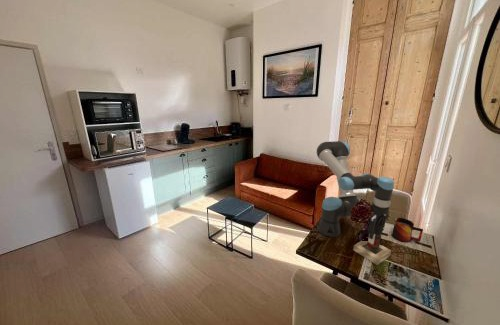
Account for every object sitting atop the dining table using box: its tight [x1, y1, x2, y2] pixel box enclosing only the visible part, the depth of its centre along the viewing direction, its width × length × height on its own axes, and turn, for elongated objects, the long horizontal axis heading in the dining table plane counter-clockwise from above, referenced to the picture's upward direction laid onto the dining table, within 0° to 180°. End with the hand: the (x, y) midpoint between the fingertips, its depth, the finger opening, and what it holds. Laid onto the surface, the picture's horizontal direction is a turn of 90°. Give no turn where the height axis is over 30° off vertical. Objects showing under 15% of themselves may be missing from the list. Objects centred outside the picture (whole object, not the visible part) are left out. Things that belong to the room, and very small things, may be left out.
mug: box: [391, 217, 424, 243], centre depth 132 cm, size 10×14×12 cm
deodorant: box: [367, 223, 384, 250], centre depth 117 cm, size 6×6×15 cm
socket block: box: [352, 240, 392, 266], centre depth 120 cm, size 14×14×4 cm
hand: (373, 240), depth 118 cm, fingers closed on deodorant, 6 cm apart
